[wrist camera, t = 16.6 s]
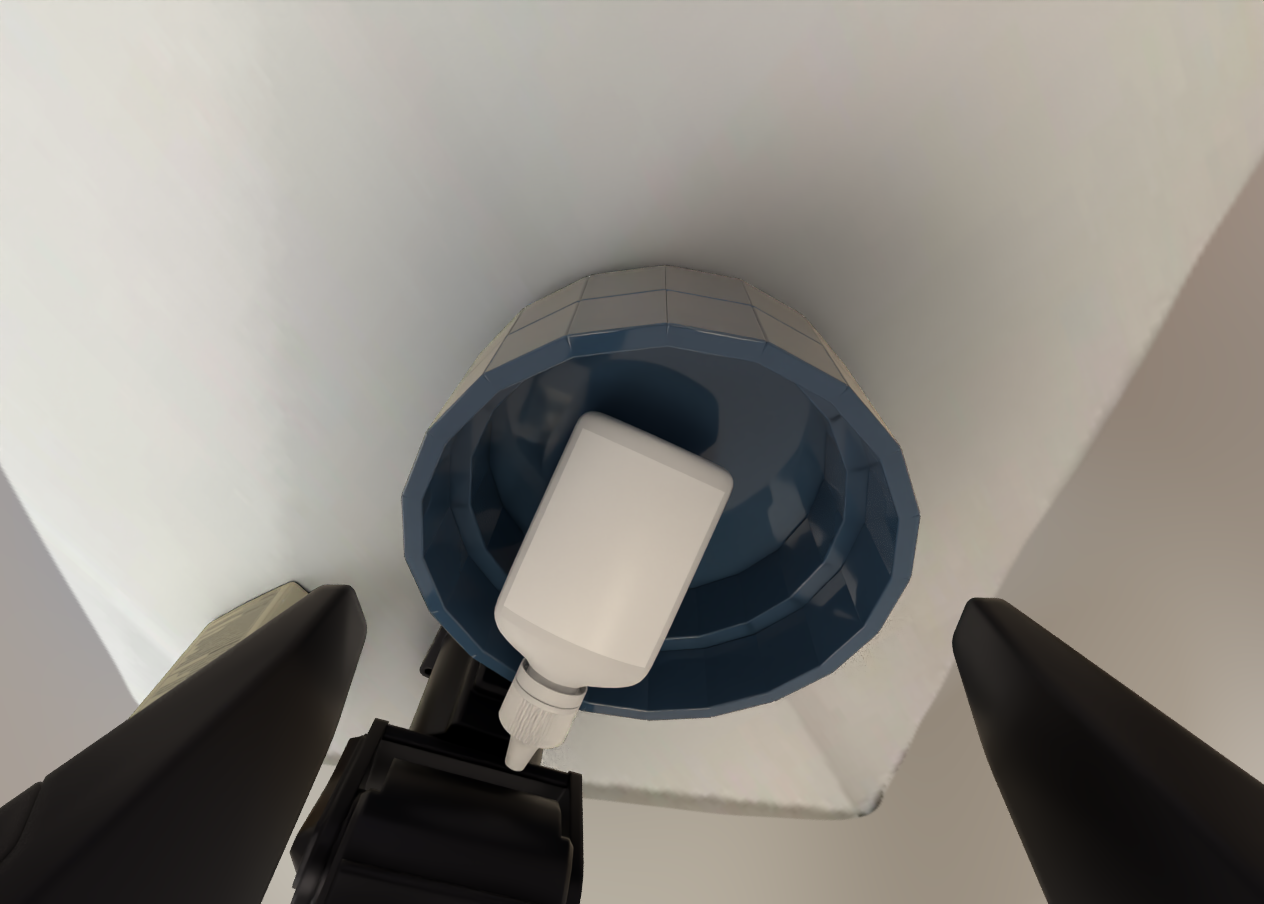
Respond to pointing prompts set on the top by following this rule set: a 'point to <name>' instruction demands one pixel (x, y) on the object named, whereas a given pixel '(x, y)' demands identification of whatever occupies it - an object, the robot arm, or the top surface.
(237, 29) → the top surface
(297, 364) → the top surface
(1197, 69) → the top surface
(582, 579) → the eye dropper bottle
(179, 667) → the cosmetic box
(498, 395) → the bowl
